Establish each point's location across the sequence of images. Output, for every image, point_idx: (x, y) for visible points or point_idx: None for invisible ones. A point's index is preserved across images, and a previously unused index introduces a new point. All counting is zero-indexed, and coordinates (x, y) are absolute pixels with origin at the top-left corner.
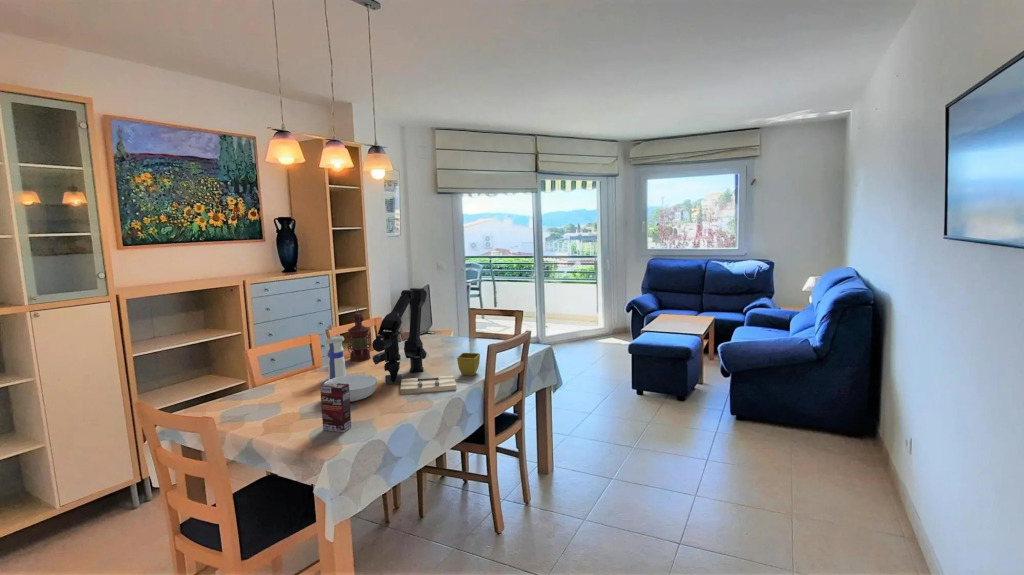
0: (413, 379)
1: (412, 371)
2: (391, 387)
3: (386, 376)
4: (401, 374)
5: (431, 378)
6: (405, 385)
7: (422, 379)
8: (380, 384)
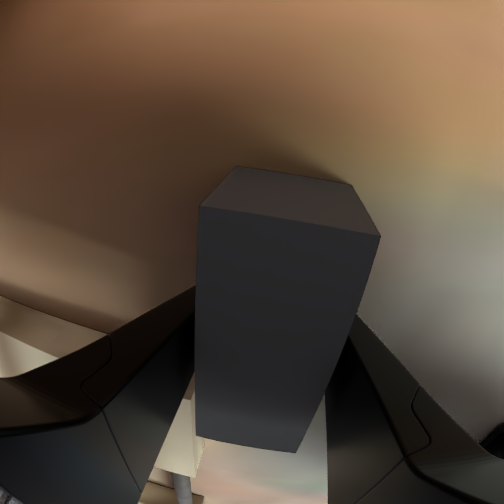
0: (160, 455)
1: (488, 443)
2: (90, 235)
3: (258, 242)
4: (277, 450)
5: (179, 501)
6: (7, 359)
7: (172, 479)
8: (273, 85)
